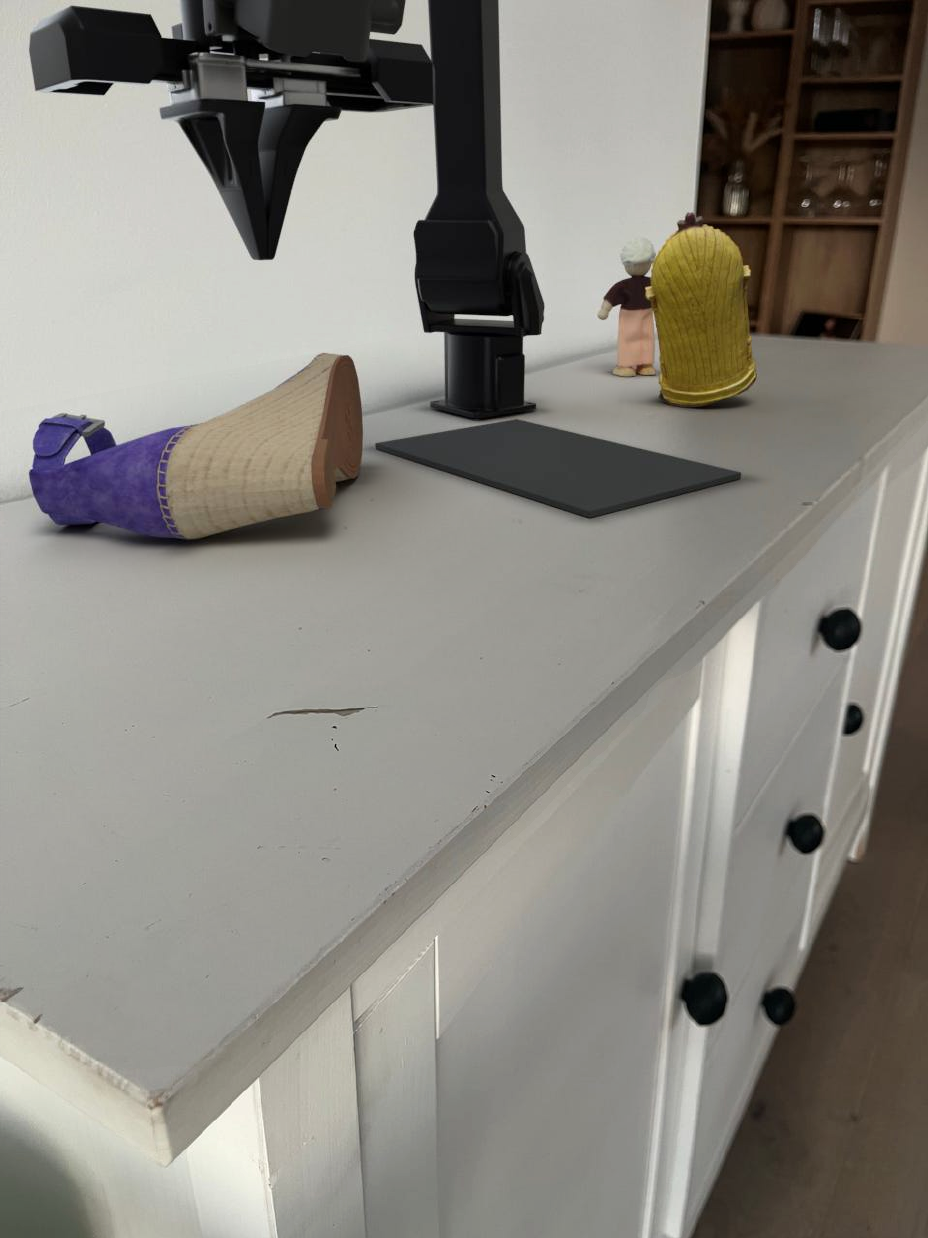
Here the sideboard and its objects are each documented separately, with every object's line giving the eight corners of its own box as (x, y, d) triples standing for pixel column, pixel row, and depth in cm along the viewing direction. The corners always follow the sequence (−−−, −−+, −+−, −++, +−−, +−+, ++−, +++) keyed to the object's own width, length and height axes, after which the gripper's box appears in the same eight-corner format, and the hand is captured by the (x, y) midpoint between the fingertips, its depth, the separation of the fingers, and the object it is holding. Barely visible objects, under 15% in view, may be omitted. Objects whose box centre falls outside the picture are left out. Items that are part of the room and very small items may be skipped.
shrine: (725, 423, 75) (747, 211, 69) (626, 413, 78) (638, 212, 72) (763, 398, 84) (784, 210, 78) (672, 391, 88) (686, 210, 82)
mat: (375, 448, 67) (375, 442, 67) (516, 423, 75) (516, 418, 74) (589, 518, 52) (590, 511, 52) (740, 478, 59) (741, 472, 59)
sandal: (351, 313, 61) (116, 328, 61) (315, 445, 44) (-7, 465, 45) (367, 434, 65) (147, 447, 66) (339, 593, 49) (47, 610, 49)
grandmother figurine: (651, 368, 100) (660, 236, 95) (673, 373, 96) (684, 236, 91) (587, 374, 97) (592, 237, 92) (608, 379, 93) (615, 238, 88)
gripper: (83, -216, 33) (145, 275, 39) (505, -114, 43) (502, 259, 49) (-4, -131, 41) (58, 264, 47) (370, -63, 51) (381, 252, 57)
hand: (263, 259), depth 50 cm, fingers closed
